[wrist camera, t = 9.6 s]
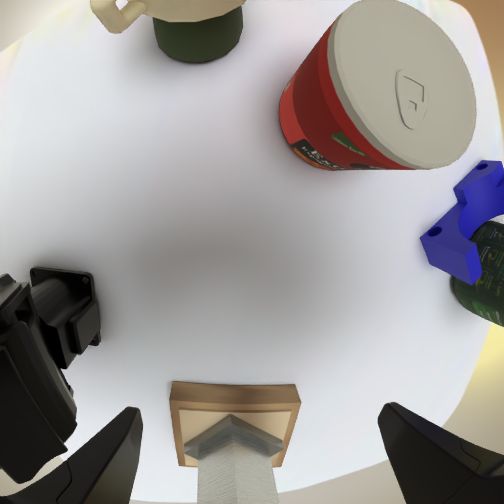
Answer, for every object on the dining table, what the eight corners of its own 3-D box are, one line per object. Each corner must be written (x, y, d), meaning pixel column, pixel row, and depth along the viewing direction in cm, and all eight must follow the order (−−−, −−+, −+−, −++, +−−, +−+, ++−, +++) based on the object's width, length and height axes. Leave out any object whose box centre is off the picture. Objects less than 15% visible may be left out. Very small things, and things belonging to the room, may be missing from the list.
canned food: (280, 172, 19) (345, 166, 9) (271, 67, 17) (317, -22, 7) (376, 171, 20) (485, 176, 9) (366, 75, 18) (457, 24, 7)
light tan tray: (180, 449, 25) (178, 467, 22) (172, 381, 23) (168, 402, 20) (277, 450, 26) (281, 468, 24) (294, 384, 24) (302, 404, 21)
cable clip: (480, 160, 20) (523, 162, 15) (492, 197, 22) (532, 205, 16) (412, 223, 21) (459, 238, 16) (428, 263, 22) (471, 285, 17)
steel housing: (184, 443, 21) (177, 542, 11) (230, 413, 21) (239, 529, 10) (235, 466, 23) (243, 554, 12) (282, 439, 22) (306, 536, 12)
